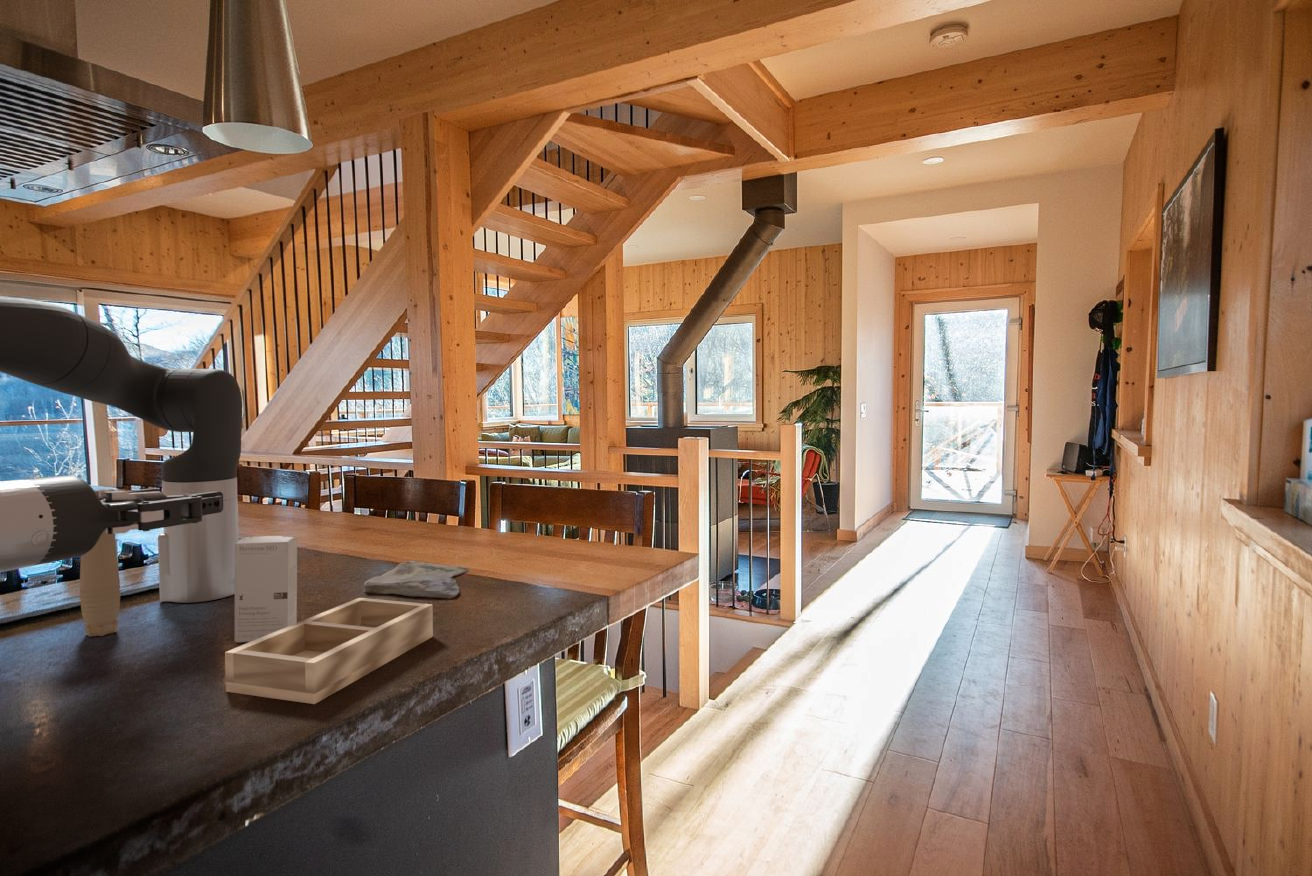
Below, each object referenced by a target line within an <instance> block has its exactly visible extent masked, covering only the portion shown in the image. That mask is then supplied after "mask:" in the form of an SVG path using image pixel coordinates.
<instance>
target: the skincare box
mask: <svg viewBox="0 0 1312 876" xmlns="http://www.w3.org/2000/svg"><path fill="white" fill-rule="evenodd" d="M297 589H298V536H297V535H262V536H261V535H259V536H255V535H254V536H245V537H243V538H241V539H240V540H239V541H238V542H237V543H235V594H234V634H233V635H234V637H233V638H234V643H235V644H236V643H249V642H251V641H254V640H256V639H259V638H261V637H264V636H266V635H268V634H271V633H273V632H276V631H278V630H281V629H283V628H286V627H288V626H291V625H293V624H296V623H298V621H297V614H298V613H297V612H298V611H297V610H298V607H297V605H298V604H297V601H298V596H297V595H298V590H297Z"/></svg>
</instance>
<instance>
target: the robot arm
mask: <svg viewBox="0 0 1312 876" xmlns="http://www.w3.org/2000/svg"><path fill="white" fill-rule="evenodd" d="M0 373H2V374H5V375H6V374H7V375H8V376H9V375H10V376H12V377H15V378H16V379H19V380H22V381H24V382H27V383H31V384H34V385H37V386H40V387H43V388H47V389H49V390H53V391H55V392H59V393H61V394H62V393H63V394H66V395H68V396H69V395H70V396H73V397H77V398H80V399H83V400H87V401H90V402H94V403H98V404H102V405H107V406H111V407H114V408H117V409H119V410H122V411H123V412H124V413H125V412H126V413H127V414H130V415H132V416H133V417H134V416H135V417H136V418H139V419H140V420H142V421H144V422H147V423H149V424H150V425H153V426H155V427H158V428H160V429H163V430H166V431H170V432H175V433H192V441H191V445H190V446H189V447H188V448H187V449H186V450H185V451H183V452H182V453H181V454H177V455H176V456H173V457H170V458H168V459H166V460H164V461H163V463H162V464H161V465H162V466H161V487H162V490H161V491H160V489H159V488H153V487H152V488H144V489H135V490H128V491H127V490H116V489H113V488H106V489H105V488H103V489H93V487H92V486H91V485H90V484H89V483H88V482H86V481H85V480H84V479H82V478H80V477H77V476H74V475H55V476H43V477H33V478H32V477H31V478H22V479H13V480H0V573H3V572H9V571H13V570H19V569H22V568H23V569H24V568H28V567H33V566H39V565H44V564H49V563H54V562H59V561H60V562H61V561H65V560H69V559H75V558H79V557H81V556H82V555H84V554H86V553H87V552H89V551H90V550H91V549H92V548H93V547H94V546H95V545H96V543H97V542H98V540H99V538H100V536H101V534H102V533H103V532H104V530H105V529H106V534H115V535H117V534H125V533H128V532H129V531H133V530H138V531H142V532H150V530H157V529H162V528H163V533H160V534H158V536H157V551H158V553H157V555H158V560H157V561H158V582H159V584H158V587H159V602H172V603H181V604H182V603H185V604H187V603H200V602H201V603H202V602H208V601H209V602H210V601H213V600H214V601H215V600H218V599H223V598H226V597H230V596H233V595H235V543H237V542H238V541H240V540H239V538H240V537H239V506H238V505H239V503H238V502H239V501H238V465H239V462H240V458H241V454H242V432H243V431H242V430H243V397H242V392H241V388H240V385H239V383H238V381H237V380H236V377H234V375H232V374H231V373H230V372H228V371H226V370H224V369H218V368H171V367H163V366H159V365H155V364H152V363H149V362H146V361H143V360H141V359H138V358H136V357H134V356H131V355H130V353H129V351H128V349H127V347H126V345H125V344H124V341H122V340H121V338H120V337H119V336H118V335H117V334H116V333H115V332H113V331H112V330H111V329H109V328H107V327H106V326H104V325H102V324H101V323H99V322H97V321H95V320H92V319H90V318H88V317H87V316H83V315H82V314H79V313H76V312H75V311H73V310H70V309H68V308H66V307H63V306H61V305H57V304H54V303H50V302H47V301H42V300H34V299H27V298H19V297H17V298H16V297H10V296H9V297H7V296H6V297H5V296H0Z"/></svg>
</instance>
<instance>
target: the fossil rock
mask: <svg viewBox="0 0 1312 876" xmlns="http://www.w3.org/2000/svg"><path fill="white" fill-rule="evenodd" d="M469 571H470V568H468V567H464V566H461V565H460V566H459V565H445V564H438V563H431V562H430V563H429V562H420V561H416V560H409V561H407V562H400V563H399V564H397V565H396V567H395V568H393V569H391V570H389V571H386V572H385V573H382V574H381V575H377V576H373V577H372V578H369V579H367V580H366V581H364V585H363V591H362V593H365V594H367V593H368V594H378V595H398V596H399V595H400V596H406V597H411V598H412V597H414V598H415V597H416V598H417V597H419V598H440V599H449V600H451V599H455V598H456V597H457V596H458V594H459V593H460V587H459V586H458V583H457V580H456V579H455V578H454V577H459V576H460V575H464V574H466V573H467V572H469ZM463 573H464V574H463Z"/></svg>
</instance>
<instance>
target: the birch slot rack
mask: <svg viewBox="0 0 1312 876" xmlns="http://www.w3.org/2000/svg"><path fill="white" fill-rule="evenodd" d="M433 608H434V607H433V604H432V603H430V604H429V603H420V602H411V601H409V602H408V601H400V600H398V601H397V600H389V599H378V598H368V597H358V598H355V599H353V600H350V601H347V602H344V603H343V604H339V605H337V606H335V607H333V608H331V609H328V610H326V611H323V612H321V613H317V614H316V615H313V616H310V617H309V618H306V619H304V620H301V621H297V623H296V624H293V625H291V626H288V627H286V628H283V629H281V630H278V631H276V632H273V633H271V634H268V635H266V636H264V637H261V638H259V639H256V640H254V641H251V642H245V643H244V644H241V645H239V646H236V647H234V648H232V649H229V650H227V651H225V652H224V665H225V667H224V668H225V692H226V693H234V694H241V695H246V696H252V697H253V696H256V697H262V698H266V699H267V698H268V699H275V700H276V699H277V700H283V701H290V702H296V703H297V702H298V703H303V704H304V703H305V704H311V705H316V704H317V703H320V702H321V701H323V700H325V699H326V698H329V697H330V696H331V695H333V694H336V693H337V692H338V691H340V690H342V689H344V688H346V687H348V686H349V685H350V684H352V683H355V682H356V681H358V680H360V679H361V678H363V677H365V676H367V675H369V674H370V673H371V672H373V671H375V670H378V669H379V668H380V667H382V666H384V665H386V664H387V663H389V662H391V661H393V660H394V659H397V658H398V657H400V656H401V655H404V654H405V653H406V652H409V651H410V650H412V649H414V648H415V647H417V646H419V645H420V644H422V643H424V642H426V641H428V640H429V639H431V638H433V637H434V624H433V622H434V620H433V619H434V615H433V614H434V613H433Z"/></svg>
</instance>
